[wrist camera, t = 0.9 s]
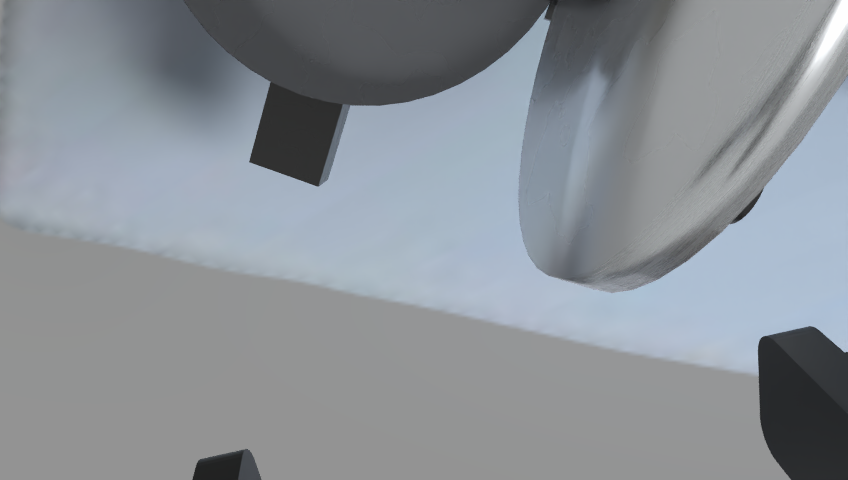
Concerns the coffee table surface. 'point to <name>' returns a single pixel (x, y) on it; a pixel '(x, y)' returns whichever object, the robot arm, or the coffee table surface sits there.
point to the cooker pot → (354, 61)
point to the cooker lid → (665, 126)
